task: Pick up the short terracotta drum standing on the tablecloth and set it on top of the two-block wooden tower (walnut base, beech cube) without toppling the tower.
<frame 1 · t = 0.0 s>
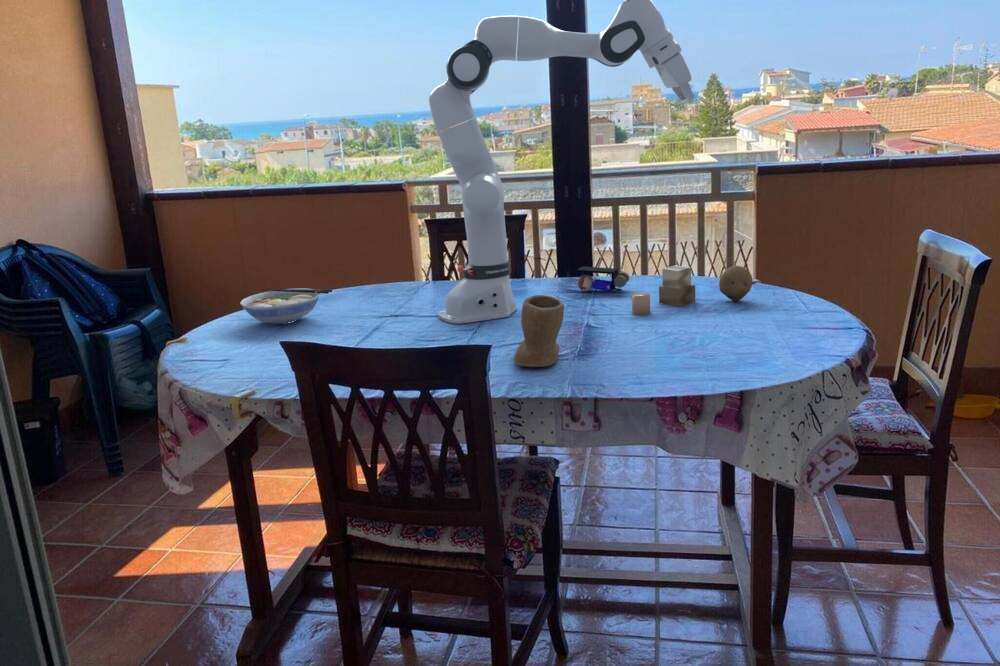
hand: (687, 99, 213), 54 cm above the table, tool tilted 30°, fingers open, 8 cm apart
natural sponge: (735, 302, 222), on the table
tower base: (677, 303, 225), on the table, touching tower top
ramen bowl: (284, 322, 235), on the table
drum: (641, 312, 217), on the table
stone cup: (541, 361, 184), on the table
tower top: (676, 285, 224), point 5 cm above the table, touching tower base
toy car: (603, 291, 244), on the table
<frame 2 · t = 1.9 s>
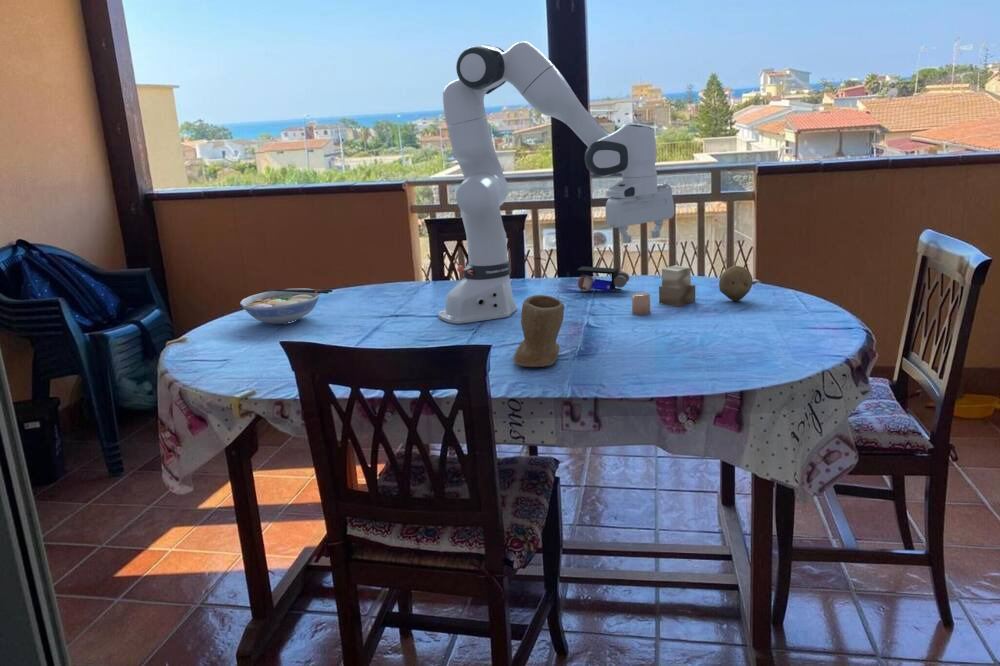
hand: (641, 240, 212), 20 cm above the table, tool pointing down, fingers open, 8 cm apart
nothing on the table moved.
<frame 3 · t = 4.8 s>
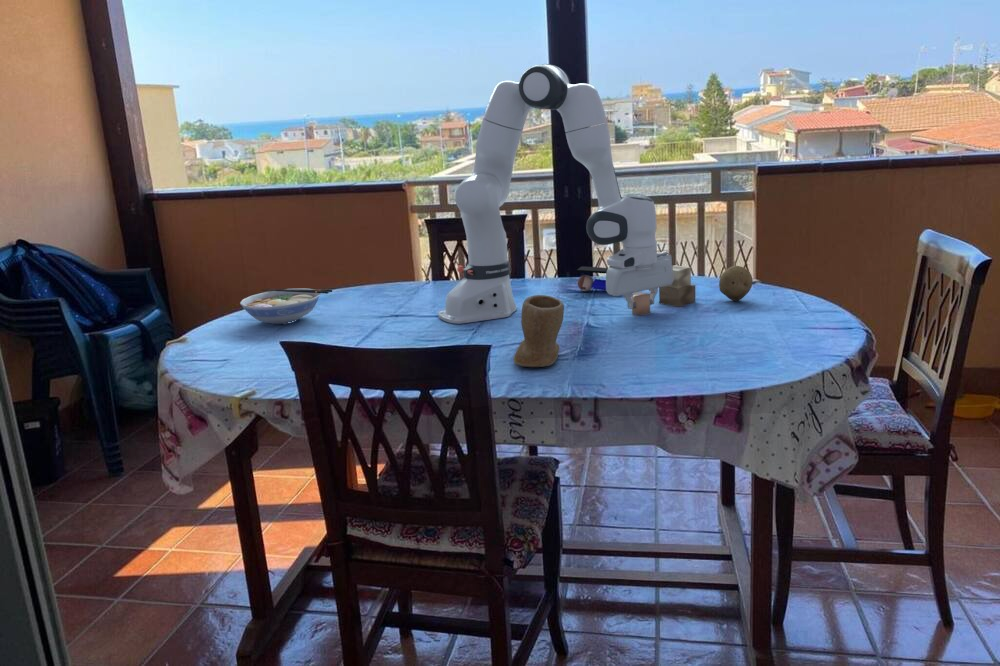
hand: (641, 306, 217), 2 cm above the table, tool pointing down, fingers closed on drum, 5 cm apart
tower base: (677, 302, 225), on the table
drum: (641, 312, 217), on the table, touching gripper
tower top: (676, 285, 224), point 5 cm above the table
everything else where it was.
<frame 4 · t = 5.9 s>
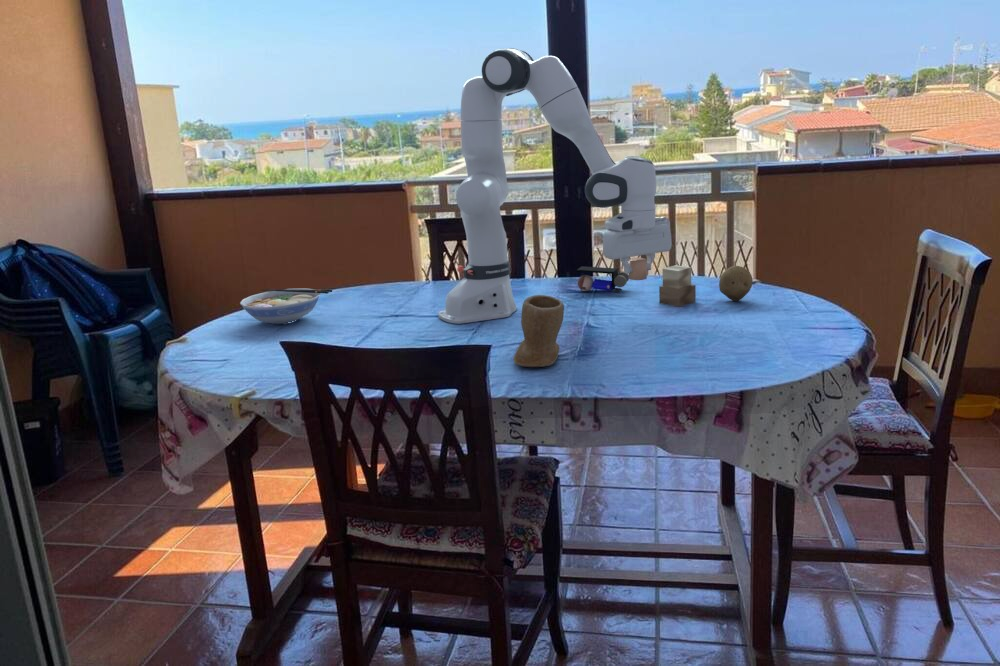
hand: (637, 271, 214), 11 cm above the table, tool pointing down, fingers closed on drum, 5 cm apart
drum: (637, 278, 215), point 10 cm above the table, touching gripper
everything else where it was.
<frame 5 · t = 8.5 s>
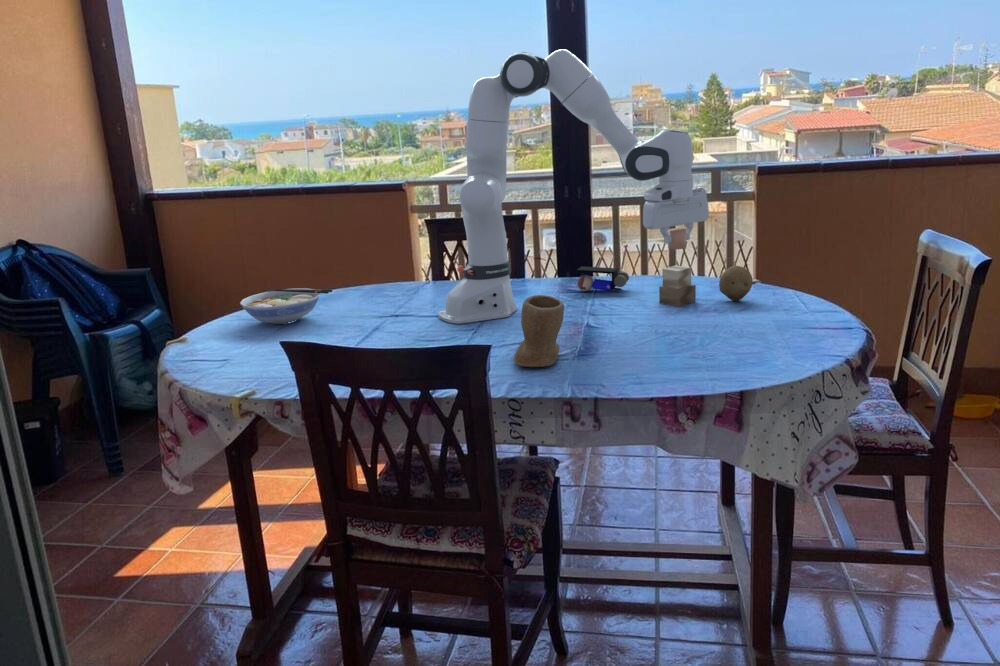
hand: (676, 241, 220), 17 cm above the table, tool pointing down, fingers closed on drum, 5 cm apart
tower base: (677, 303, 225), on the table, touching tower top
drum: (677, 247, 221), point 15 cm above the table, touching gripper
tower top: (677, 285, 224), point 5 cm above the table, touching tower base
everything else where it was.
when the fingers open (12 cm above the table, at t = 10.4 s): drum stays where it is, resting on tower top.
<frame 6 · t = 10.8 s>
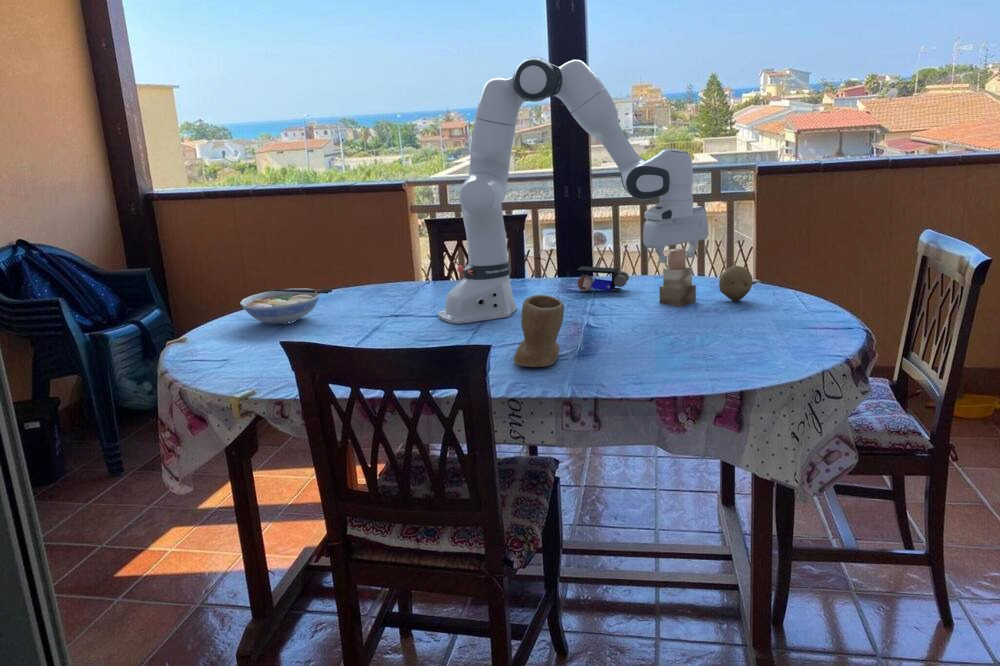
hand: (676, 259, 222), 12 cm above the table, tool pointing down, fingers open, 8 cm apart
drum: (676, 268, 222), point 10 cm above the table, touching tower top
tower top: (677, 285, 224), point 5 cm above the table, touching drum, tower base
everything else where it was.
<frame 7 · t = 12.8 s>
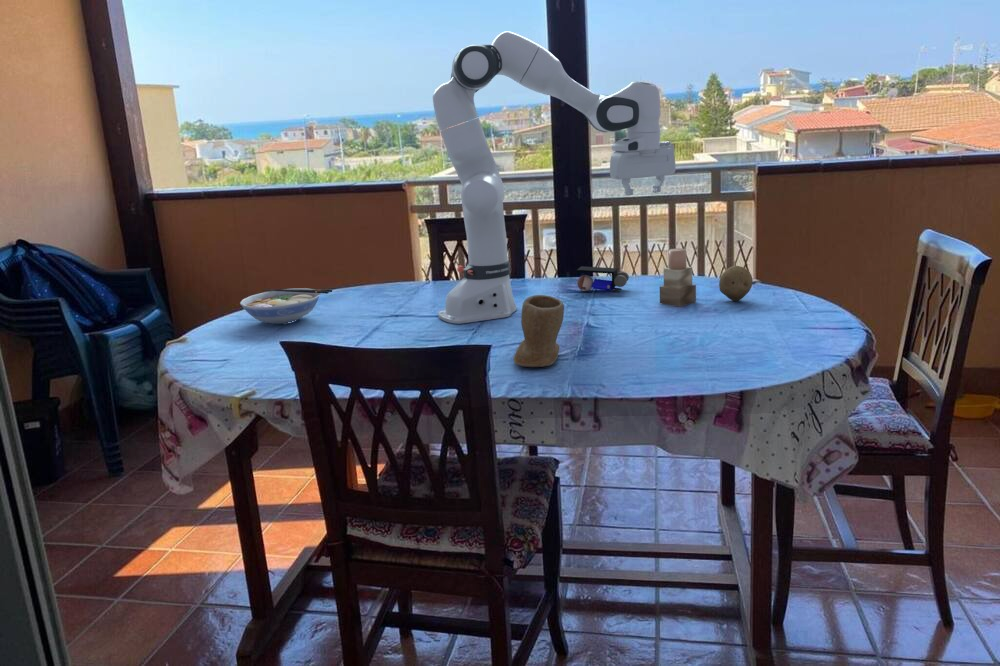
hand: (643, 193, 225), 30 cm above the table, tool pointing down, fingers open, 8 cm apart
nothing on the table moved.
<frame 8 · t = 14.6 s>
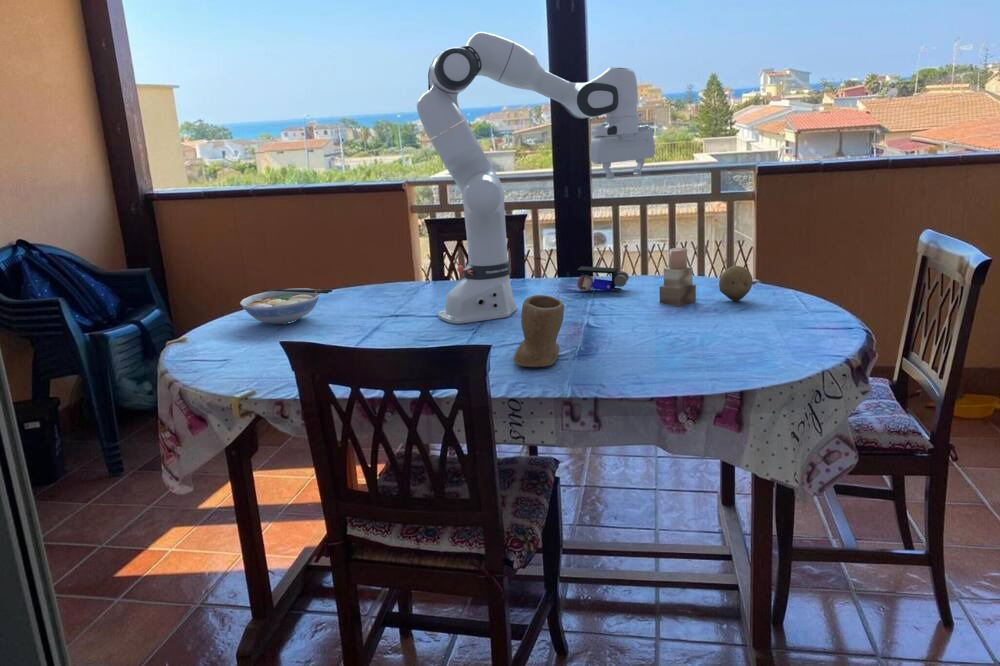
hand: (623, 177, 229), 34 cm above the table, tool pointing down, fingers open, 8 cm apart
nothing on the table moved.
at the end: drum 0.3 cm off-centre on the tower top, point 5.1 cm above the tower top's base; tower top tilted 0°; tower base moved 0.2 cm from its start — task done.
